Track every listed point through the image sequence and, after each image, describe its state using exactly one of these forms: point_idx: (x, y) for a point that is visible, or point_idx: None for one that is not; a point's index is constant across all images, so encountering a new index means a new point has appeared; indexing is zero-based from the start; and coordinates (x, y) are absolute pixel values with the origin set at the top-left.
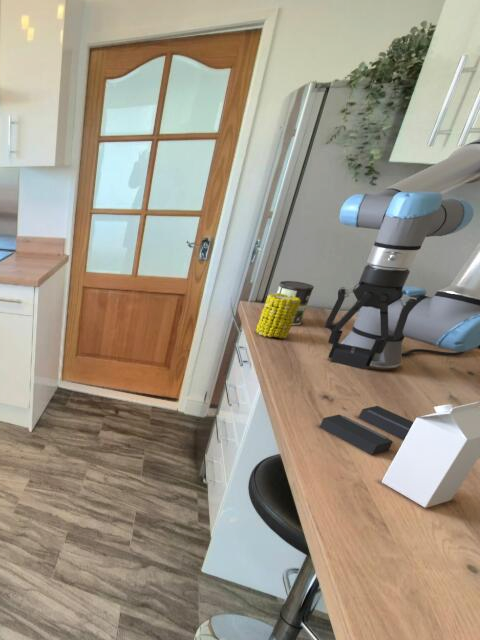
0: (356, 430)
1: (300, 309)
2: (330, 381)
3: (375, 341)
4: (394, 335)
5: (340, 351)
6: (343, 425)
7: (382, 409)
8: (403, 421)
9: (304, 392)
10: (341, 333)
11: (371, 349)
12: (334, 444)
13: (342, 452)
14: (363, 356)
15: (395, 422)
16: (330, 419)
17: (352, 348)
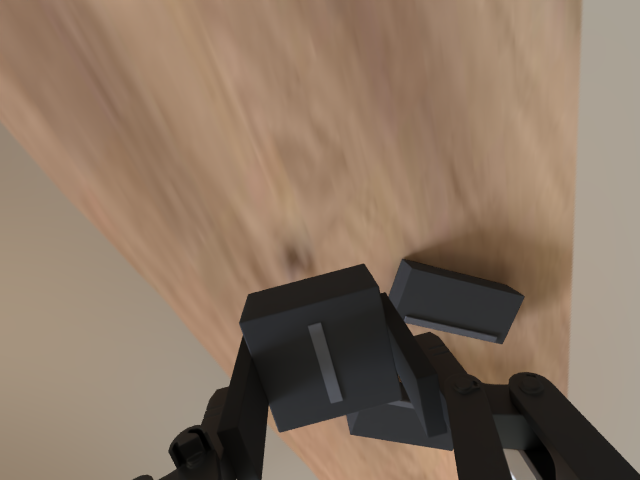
0: (412, 428)
1: None
2: (253, 124)
3: (420, 412)
4: (532, 465)
5: (298, 423)
6: (388, 431)
7: (425, 279)
8: (472, 304)
9: (247, 278)
10: (256, 475)
11: (392, 339)
12: (387, 448)
13: (404, 461)
14: (382, 403)
15: (461, 331)
16: (362, 429)
17: (317, 348)
